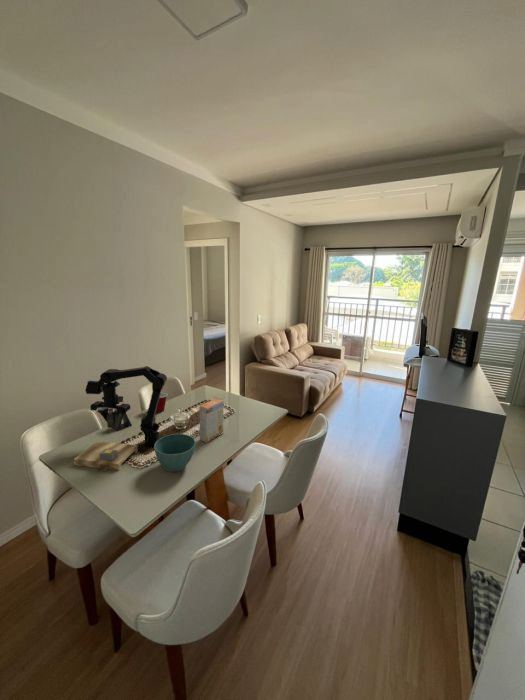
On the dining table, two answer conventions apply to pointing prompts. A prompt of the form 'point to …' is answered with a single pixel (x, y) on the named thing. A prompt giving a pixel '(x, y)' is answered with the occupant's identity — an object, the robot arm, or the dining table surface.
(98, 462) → the wooden board
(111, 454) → the stud finder
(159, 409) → the plastic cup
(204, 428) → the cracker box
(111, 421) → the bottle
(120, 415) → the phone stand
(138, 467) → the dining table surface
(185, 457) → the teal bowl
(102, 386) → the robot arm
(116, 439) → the dining table surface
